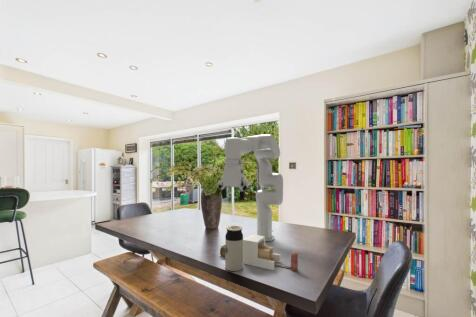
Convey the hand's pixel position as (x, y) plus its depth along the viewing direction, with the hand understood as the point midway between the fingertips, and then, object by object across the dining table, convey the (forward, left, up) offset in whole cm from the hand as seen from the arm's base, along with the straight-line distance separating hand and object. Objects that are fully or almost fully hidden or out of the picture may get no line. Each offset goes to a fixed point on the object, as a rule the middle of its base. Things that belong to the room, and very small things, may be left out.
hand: (232, 199), depth 107 cm
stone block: (-8, -5, -31) cm, 32 cm away
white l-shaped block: (-9, +12, -30) cm, 34 cm away
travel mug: (+3, +2, -31) cm, 31 cm away
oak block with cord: (-9, +18, -30) cm, 36 cm away
